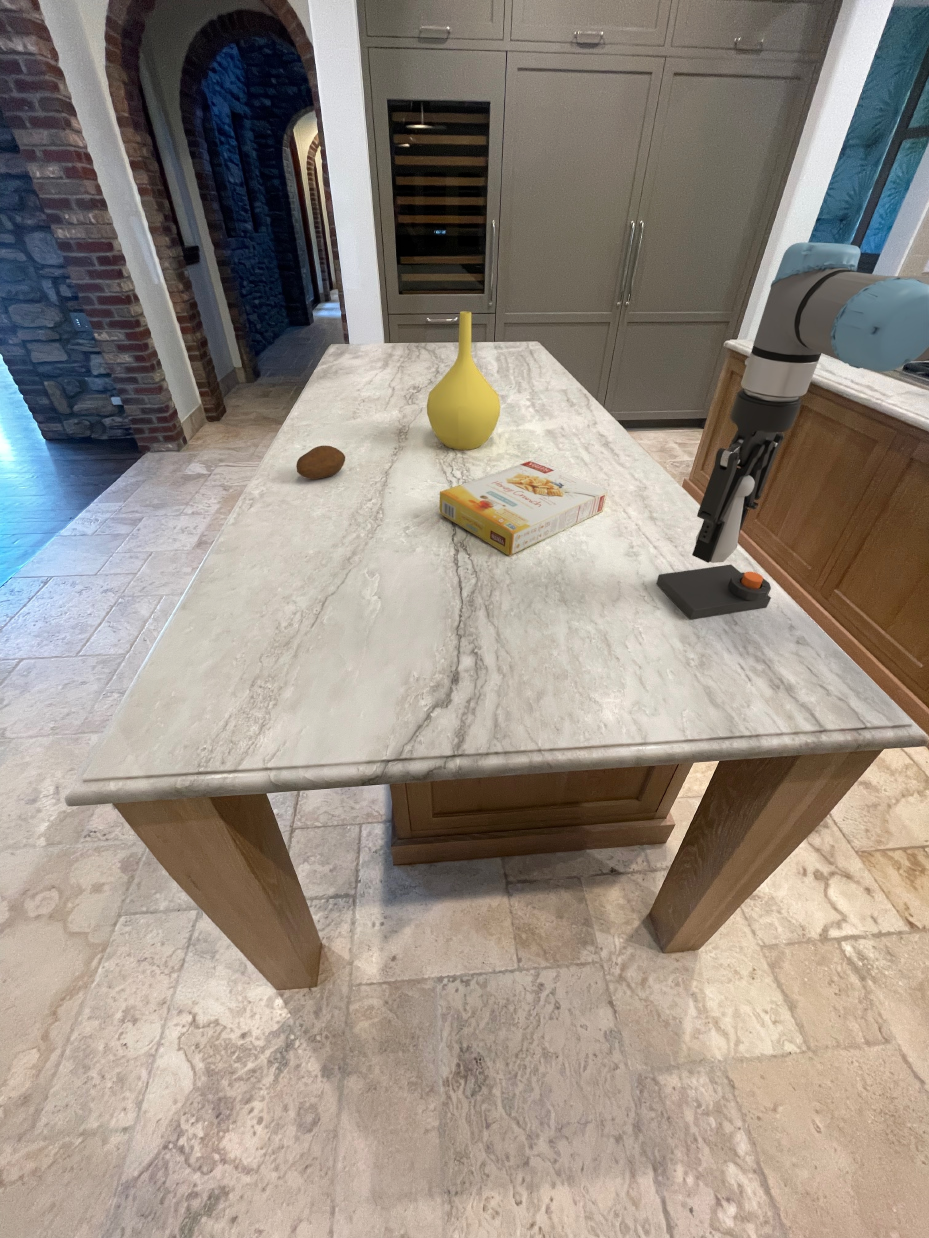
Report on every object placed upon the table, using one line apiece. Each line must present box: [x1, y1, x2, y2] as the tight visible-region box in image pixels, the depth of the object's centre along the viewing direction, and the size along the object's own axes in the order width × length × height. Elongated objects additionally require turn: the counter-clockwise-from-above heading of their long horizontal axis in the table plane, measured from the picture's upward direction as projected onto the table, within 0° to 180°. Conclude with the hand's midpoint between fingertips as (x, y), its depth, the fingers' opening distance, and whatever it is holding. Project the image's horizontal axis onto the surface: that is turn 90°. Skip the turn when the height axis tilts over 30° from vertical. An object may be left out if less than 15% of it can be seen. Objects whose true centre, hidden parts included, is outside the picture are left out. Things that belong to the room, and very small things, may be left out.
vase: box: [426, 310, 501, 451], centre depth 130 cm, size 18×18×30 cm
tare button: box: [741, 571, 764, 589], centre depth 84 cm, size 3×3×2 cm
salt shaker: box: [695, 475, 755, 564], centre depth 78 cm, size 6×6×13 cm
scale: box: [655, 564, 772, 621], centre depth 86 cm, size 14×10×4 cm
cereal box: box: [438, 458, 608, 557], centre depth 107 cm, size 20×6×28 cm
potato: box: [295, 445, 346, 480], centre depth 118 cm, size 7×12×7 cm, turn 136°
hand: (713, 551), depth 82 cm, fingers closed on salt shaker, 6 cm apart
